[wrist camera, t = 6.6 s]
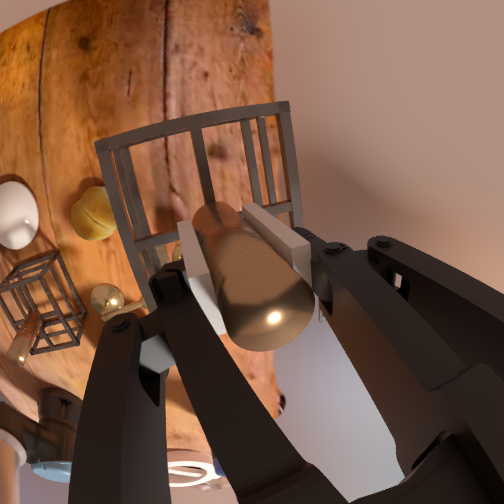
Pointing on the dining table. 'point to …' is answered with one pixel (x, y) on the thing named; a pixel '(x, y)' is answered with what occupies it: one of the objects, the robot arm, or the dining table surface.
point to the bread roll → (93, 215)
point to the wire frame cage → (222, 228)
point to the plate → (17, 215)
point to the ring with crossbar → (189, 474)
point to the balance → (111, 298)
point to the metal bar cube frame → (34, 320)
